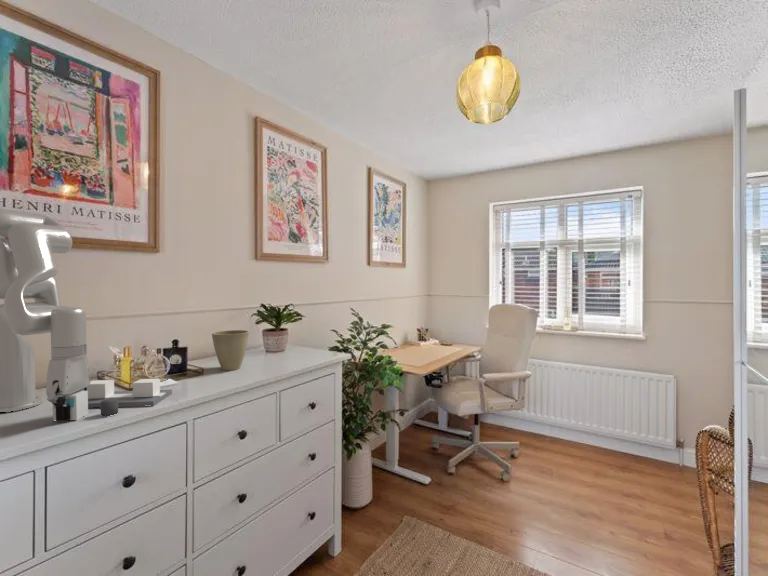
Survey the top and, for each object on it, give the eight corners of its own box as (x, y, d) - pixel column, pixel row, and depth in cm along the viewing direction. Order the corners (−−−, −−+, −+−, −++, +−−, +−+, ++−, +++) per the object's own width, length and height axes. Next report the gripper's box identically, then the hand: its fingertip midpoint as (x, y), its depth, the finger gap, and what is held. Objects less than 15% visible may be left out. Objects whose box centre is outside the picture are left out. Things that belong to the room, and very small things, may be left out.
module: (52, 422, 100) (51, 396, 100) (65, 415, 105) (64, 391, 104) (76, 421, 101) (75, 395, 100) (88, 414, 105) (87, 390, 105)
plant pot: (255, 364, 167) (254, 330, 166) (238, 373, 152) (238, 334, 152) (223, 364, 168) (223, 329, 168) (204, 372, 154) (204, 334, 153)
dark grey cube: (97, 417, 103) (97, 403, 103) (106, 412, 107) (106, 398, 107) (112, 416, 104) (112, 402, 104) (121, 411, 108) (121, 398, 108)
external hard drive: (131, 389, 131) (169, 382, 140) (139, 394, 126) (178, 386, 135) (131, 385, 131) (169, 378, 140) (139, 389, 126) (178, 381, 135)
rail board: (68, 409, 110) (68, 388, 110) (95, 396, 122) (95, 377, 122) (153, 406, 112) (153, 385, 112) (171, 393, 124) (171, 375, 124)
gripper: (76, 346, 110) (77, 406, 111) (28, 358, 93) (30, 429, 94) (103, 346, 111) (104, 405, 111) (60, 358, 94) (62, 428, 95)
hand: (70, 416), depth 103 cm, fingers closed on module, 4 cm apart
